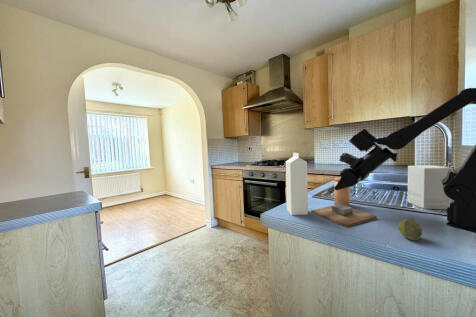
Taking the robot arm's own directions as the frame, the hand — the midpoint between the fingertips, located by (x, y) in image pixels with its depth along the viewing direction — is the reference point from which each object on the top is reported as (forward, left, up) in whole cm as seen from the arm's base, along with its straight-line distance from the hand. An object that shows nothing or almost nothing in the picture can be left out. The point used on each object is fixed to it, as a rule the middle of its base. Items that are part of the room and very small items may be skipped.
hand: (338, 187), depth 76 cm
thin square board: (-9, +10, -7) cm, 15 cm away
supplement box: (-17, -26, -7) cm, 32 cm away
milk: (+1, +21, -7) cm, 22 cm away
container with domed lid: (-1, 0, -7) cm, 7 cm away
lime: (-27, +8, -7) cm, 30 cm away
